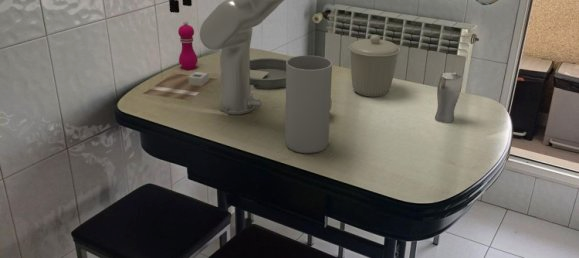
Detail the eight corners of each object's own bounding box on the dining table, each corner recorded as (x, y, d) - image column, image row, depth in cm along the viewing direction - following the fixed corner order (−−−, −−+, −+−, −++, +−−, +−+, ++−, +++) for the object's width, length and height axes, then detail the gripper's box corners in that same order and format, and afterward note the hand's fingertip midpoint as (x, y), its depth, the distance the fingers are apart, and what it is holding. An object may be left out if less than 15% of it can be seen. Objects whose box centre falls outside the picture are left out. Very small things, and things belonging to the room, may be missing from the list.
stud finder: (208, 80, 199) (208, 73, 198) (201, 86, 194) (200, 78, 193) (196, 79, 200) (195, 71, 199) (188, 84, 195) (188, 76, 194)
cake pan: (255, 64, 222) (255, 54, 220) (310, 74, 212) (310, 63, 210) (222, 83, 202) (222, 72, 200) (281, 95, 192) (281, 83, 190)
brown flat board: (217, 82, 202) (217, 78, 201) (189, 104, 183) (189, 100, 182) (174, 76, 207) (174, 73, 206) (143, 97, 188) (142, 93, 187)
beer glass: (440, 124, 171) (446, 80, 164) (429, 116, 177) (435, 72, 170) (459, 122, 172) (466, 78, 166) (448, 114, 178) (454, 71, 172)
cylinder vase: (329, 136, 162) (333, 56, 151) (326, 156, 151) (330, 71, 140) (288, 133, 164) (289, 54, 153) (282, 152, 152) (282, 68, 142)
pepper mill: (200, 68, 216) (197, 19, 207) (195, 74, 209) (192, 23, 201) (182, 67, 217) (178, 18, 208) (177, 73, 210) (173, 23, 201)
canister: (335, 90, 196) (338, 33, 187) (368, 79, 207) (372, 25, 198) (373, 105, 184) (378, 45, 175) (406, 92, 195) (412, 36, 186)
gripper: (176, -39, 166) (180, 16, 174) (199, -47, 181) (201, 4, 189) (154, -41, 168) (158, 13, 176) (179, -48, 183) (182, 2, 191)
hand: (181, 8), depth 182 cm, fingers open, 9 cm apart
